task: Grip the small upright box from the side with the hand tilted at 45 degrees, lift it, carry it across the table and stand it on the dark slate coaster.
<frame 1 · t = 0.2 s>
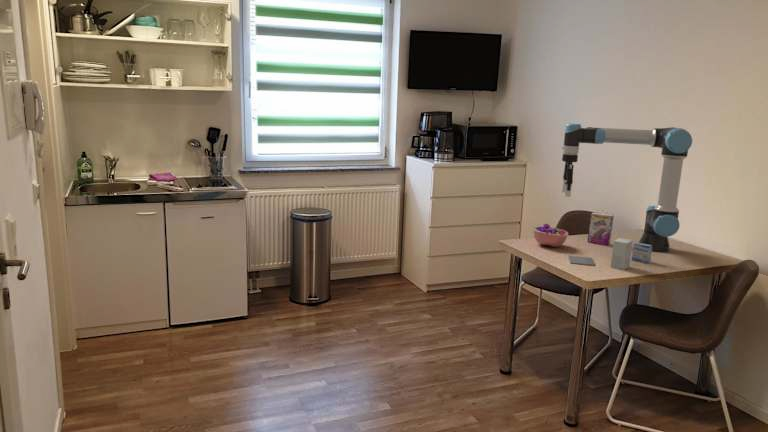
hand: (566, 194, 298), 28 cm above the table, tool pointing down, fingers open, 13 cm apart
medicine box: (640, 261, 280), on the table
candy bar box: (598, 243, 312), on the table
small box: (619, 267, 269), on the table
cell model: (549, 246, 303), on the table
slate coaster: (581, 261, 276), on the table
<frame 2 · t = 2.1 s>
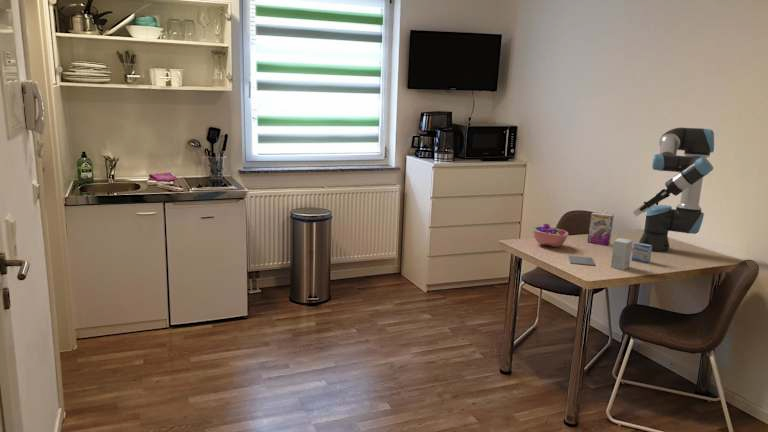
hand: (638, 212, 268), 26 cm above the table, tool tilted 45°, fingers open, 13 cm apart
nothing on the table moved.
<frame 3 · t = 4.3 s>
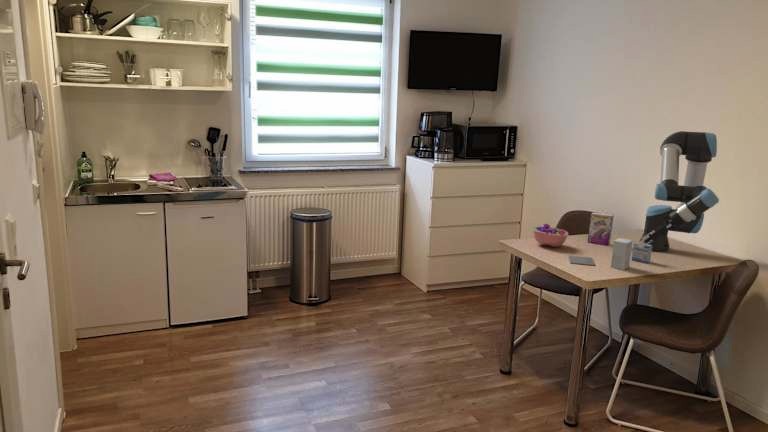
hand: (641, 243, 261), 13 cm above the table, tool tilted 45°, fingers open, 13 cm apart
nothing on the table moved.
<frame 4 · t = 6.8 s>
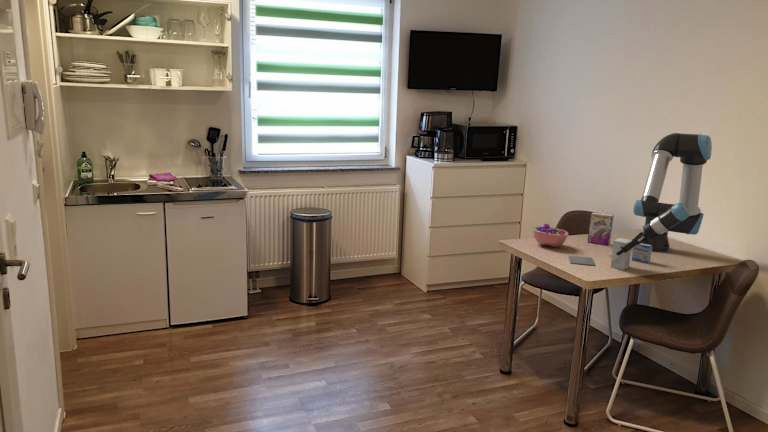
hand: (613, 255, 269), 5 cm above the table, tool tilted 45°, fingers closed on small box, 9 cm apart
small box: (619, 267, 269), on the table, touching gripper
everything else where it was.
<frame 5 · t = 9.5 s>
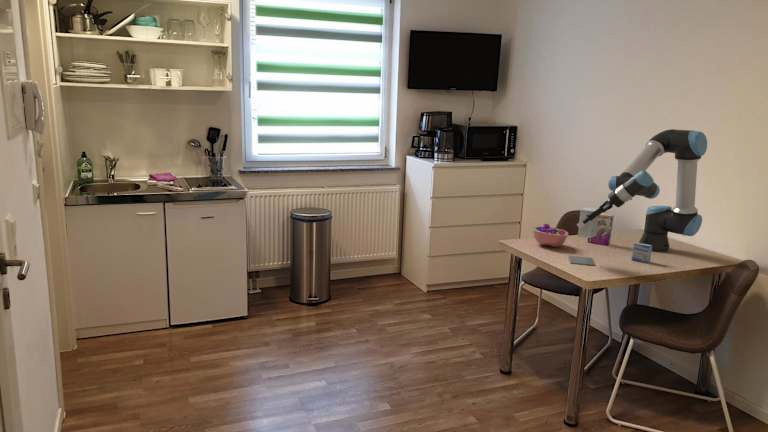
hand: (580, 224, 273), 18 cm above the table, tool tilted 45°, fingers closed on small box, 9 cm apart
small box: (586, 236, 272), point 13 cm above the table, touching gripper
everything else where it was.
when the fingers open (6 cm above the table, at t = 12.3 s): small box stays where it is, resting on slate coaster.
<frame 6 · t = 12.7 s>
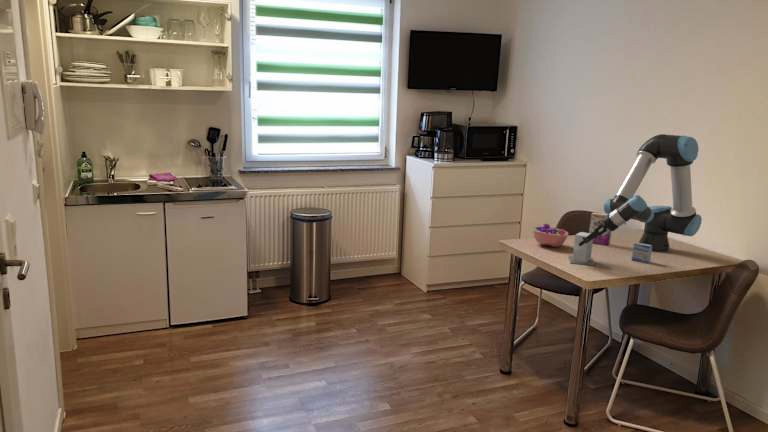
hand: (578, 245, 276), 7 cm above the table, tool tilted 45°, fingers open, 13 cm apart
small box: (581, 260, 276), resting on slate coaster
everything else where it was.
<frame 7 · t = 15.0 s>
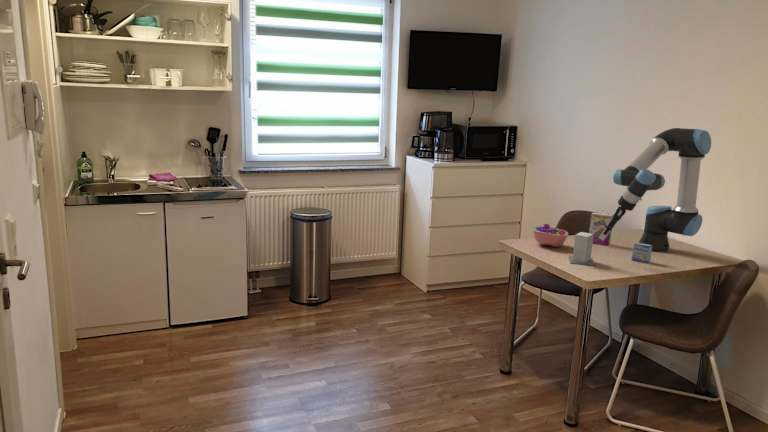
hand: (604, 234, 274), 14 cm above the table, tool tilted 30°, fingers open, 13 cm apart
nothing on the table moved.
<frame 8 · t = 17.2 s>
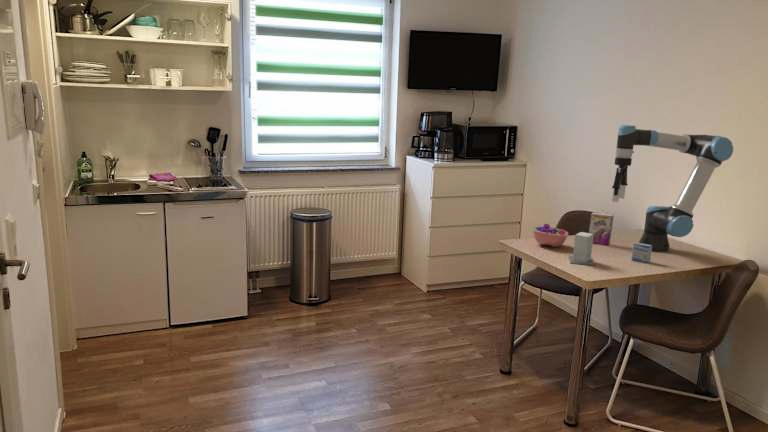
hand: (618, 200, 282), 29 cm above the table, tool pointing down, fingers open, 13 cm apart
nothing on the table moved.
at the end: small box inside the target area on the slate coaster (0.3 cm from its centre), point 0.3 cm above the slate coaster's base; small box tilted 0°; the gripper is holding nothing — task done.
